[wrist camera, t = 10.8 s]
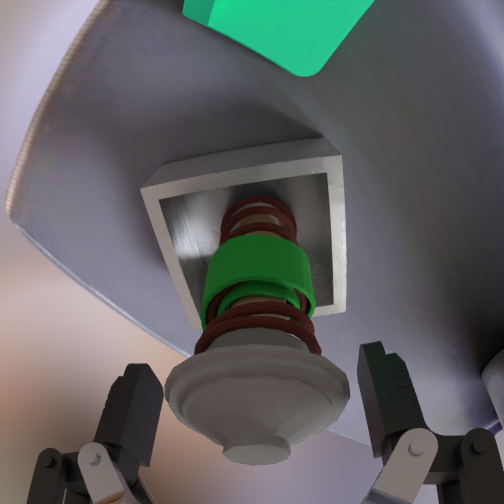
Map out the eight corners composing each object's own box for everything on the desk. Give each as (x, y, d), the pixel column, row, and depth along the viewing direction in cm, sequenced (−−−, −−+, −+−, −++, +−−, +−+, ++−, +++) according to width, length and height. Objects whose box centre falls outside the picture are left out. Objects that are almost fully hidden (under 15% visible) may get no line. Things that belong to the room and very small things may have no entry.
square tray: (323, 136, 18) (341, 155, 14) (333, 271, 23) (345, 311, 20) (163, 163, 19) (139, 188, 15) (201, 288, 24) (192, 329, 21)
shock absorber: (272, 277, 23) (280, 486, 11) (194, 237, 21) (132, 452, 9) (325, 211, 20) (401, 431, 8) (241, 160, 19) (205, 381, 6)
